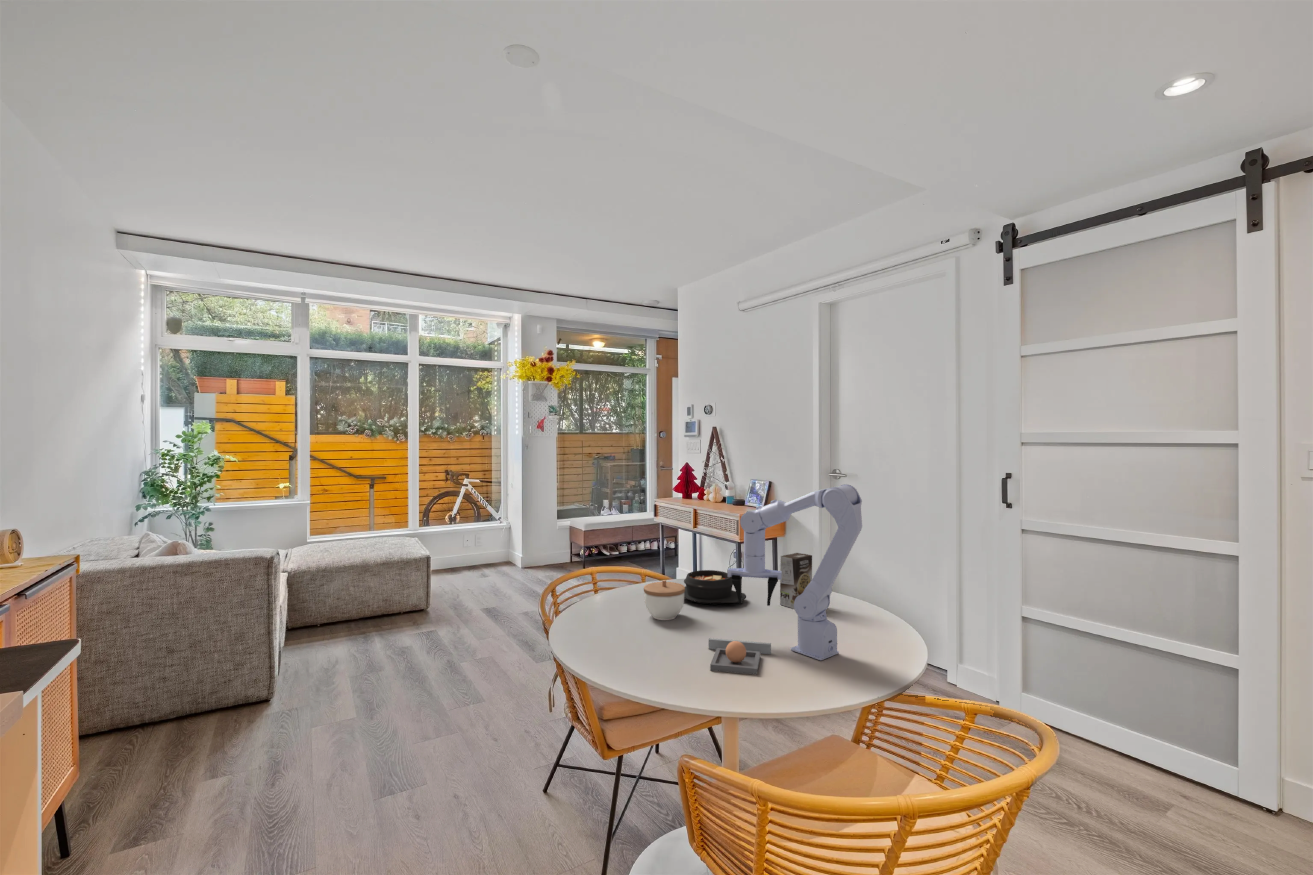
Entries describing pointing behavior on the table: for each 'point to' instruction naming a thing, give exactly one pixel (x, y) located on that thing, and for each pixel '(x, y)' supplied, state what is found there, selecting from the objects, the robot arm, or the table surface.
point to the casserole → (710, 587)
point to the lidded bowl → (664, 599)
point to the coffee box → (794, 577)
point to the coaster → (725, 665)
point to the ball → (735, 651)
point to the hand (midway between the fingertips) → (754, 603)
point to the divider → (750, 646)
